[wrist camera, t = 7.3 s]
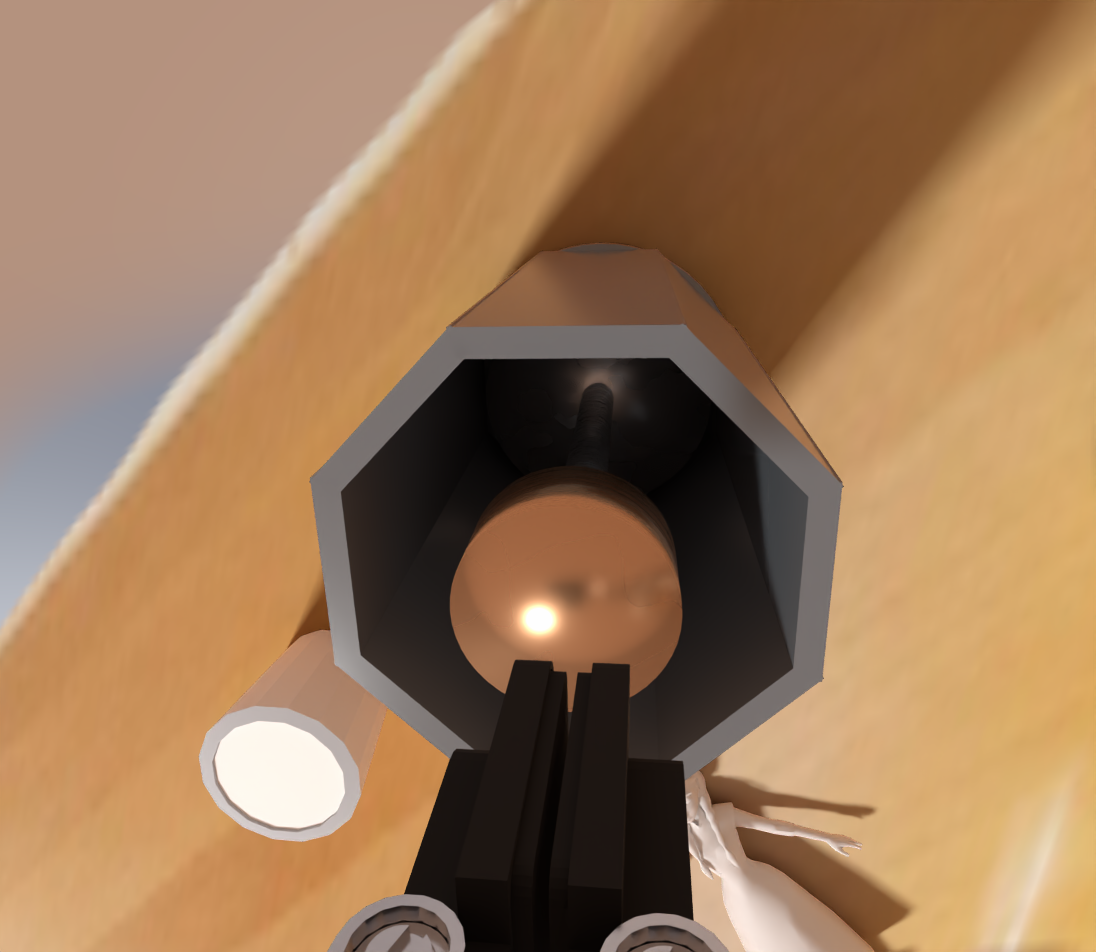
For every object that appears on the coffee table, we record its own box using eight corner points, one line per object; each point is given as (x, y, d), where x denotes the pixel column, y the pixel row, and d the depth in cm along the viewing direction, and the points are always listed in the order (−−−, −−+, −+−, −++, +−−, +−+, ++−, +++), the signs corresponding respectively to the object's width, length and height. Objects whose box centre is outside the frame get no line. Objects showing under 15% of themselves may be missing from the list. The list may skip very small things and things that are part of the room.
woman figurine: (763, 1109, 41) (554, 851, 38) (753, 1027, 45) (565, 789, 43) (981, 1029, 38) (771, 741, 35) (949, 949, 42) (759, 686, 39)
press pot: (741, 239, 31) (871, 311, 14) (724, 573, 36) (805, 922, 19) (463, 245, 32) (278, 318, 15) (482, 569, 37) (357, 894, 20)
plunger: (715, 280, 29) (811, 397, 14) (705, 498, 32) (776, 803, 16) (483, 283, 30) (323, 397, 14) (494, 496, 33) (370, 784, 17)
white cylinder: (348, 594, 38) (289, 680, 32) (432, 702, 40) (393, 805, 33) (240, 656, 40) (163, 750, 33) (325, 758, 42) (268, 866, 35)
